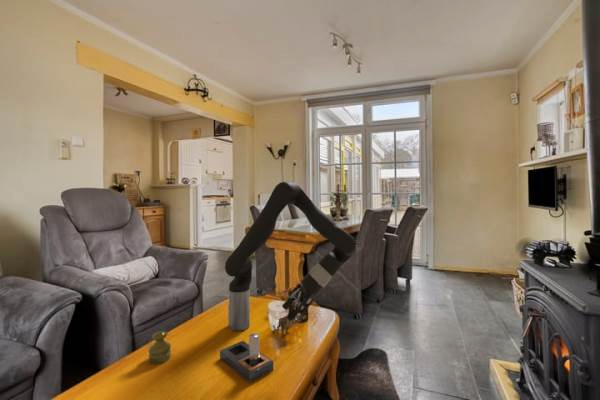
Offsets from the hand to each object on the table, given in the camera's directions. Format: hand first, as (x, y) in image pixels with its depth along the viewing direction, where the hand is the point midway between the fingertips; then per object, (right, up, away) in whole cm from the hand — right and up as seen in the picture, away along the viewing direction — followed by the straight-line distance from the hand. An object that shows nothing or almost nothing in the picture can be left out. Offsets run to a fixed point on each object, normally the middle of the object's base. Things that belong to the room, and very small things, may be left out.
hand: (286, 313), depth 102 cm
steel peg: (-11, -19, -2) cm, 22 cm away
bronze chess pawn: (-47, -19, +4) cm, 51 cm away
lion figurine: (-2, -18, +25) cm, 31 cm away
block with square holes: (-15, -19, +1) cm, 24 cm away
